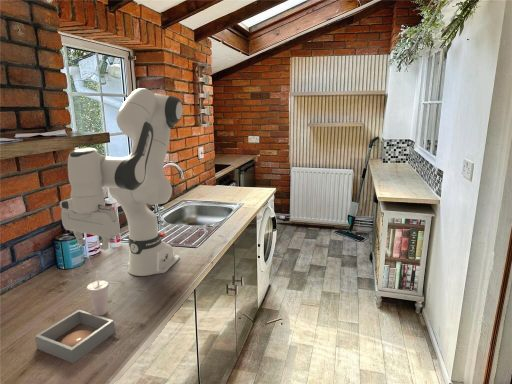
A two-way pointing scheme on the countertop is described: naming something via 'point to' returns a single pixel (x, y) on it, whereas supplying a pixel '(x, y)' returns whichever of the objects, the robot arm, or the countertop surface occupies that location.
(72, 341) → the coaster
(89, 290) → the smoothie
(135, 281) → the countertop surface
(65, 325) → the grey open tray
